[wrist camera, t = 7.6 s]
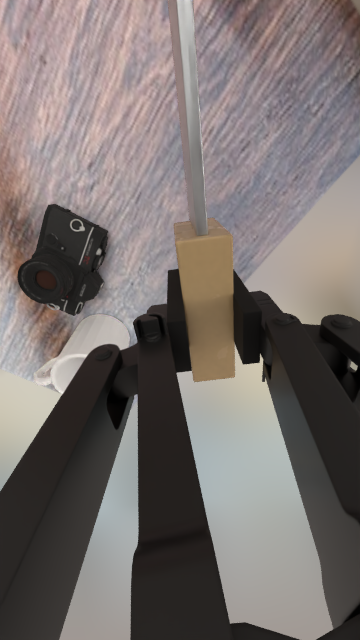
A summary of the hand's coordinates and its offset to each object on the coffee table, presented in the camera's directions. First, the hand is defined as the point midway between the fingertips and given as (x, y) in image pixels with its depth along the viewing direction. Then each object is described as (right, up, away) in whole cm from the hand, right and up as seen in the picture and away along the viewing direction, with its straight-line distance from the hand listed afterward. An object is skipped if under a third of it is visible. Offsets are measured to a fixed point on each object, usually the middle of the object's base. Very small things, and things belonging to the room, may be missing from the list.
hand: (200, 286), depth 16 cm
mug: (-15, -5, +22) cm, 27 cm away
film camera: (-16, +5, +16) cm, 23 cm away
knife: (-1, +5, -3) cm, 6 cm away
